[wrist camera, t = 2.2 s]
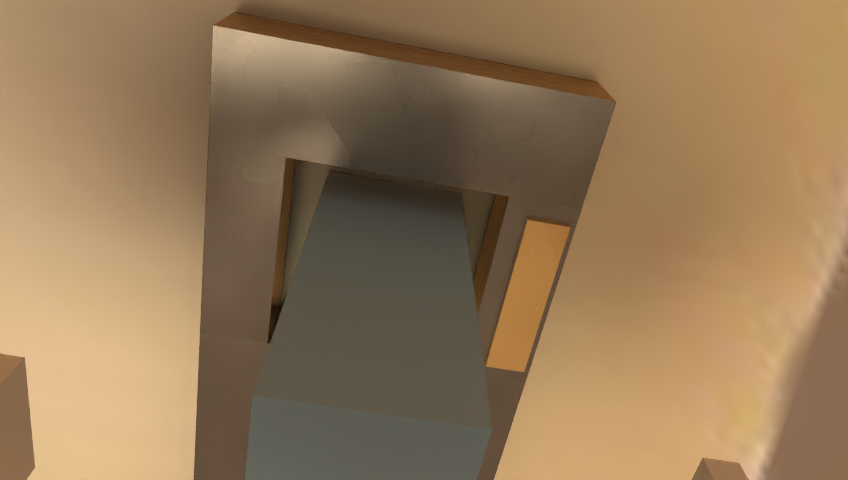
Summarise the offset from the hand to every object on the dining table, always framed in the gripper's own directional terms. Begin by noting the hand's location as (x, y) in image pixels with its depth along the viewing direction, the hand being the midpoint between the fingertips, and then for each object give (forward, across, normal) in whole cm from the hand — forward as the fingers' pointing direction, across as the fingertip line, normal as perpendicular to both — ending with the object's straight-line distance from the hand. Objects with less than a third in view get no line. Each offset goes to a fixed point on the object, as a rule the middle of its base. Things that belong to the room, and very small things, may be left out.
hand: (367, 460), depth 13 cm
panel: (+9, 0, -6) cm, 10 cm away
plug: (+9, 0, 0) cm, 9 cm away
